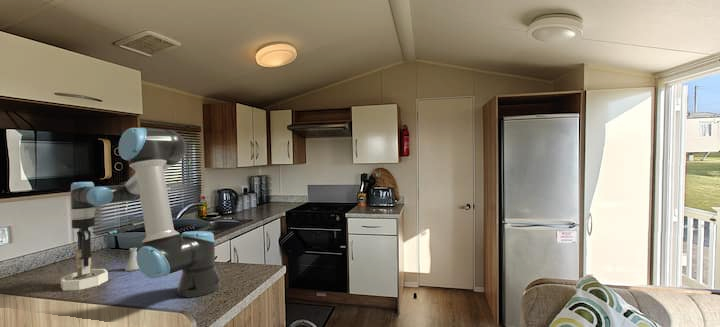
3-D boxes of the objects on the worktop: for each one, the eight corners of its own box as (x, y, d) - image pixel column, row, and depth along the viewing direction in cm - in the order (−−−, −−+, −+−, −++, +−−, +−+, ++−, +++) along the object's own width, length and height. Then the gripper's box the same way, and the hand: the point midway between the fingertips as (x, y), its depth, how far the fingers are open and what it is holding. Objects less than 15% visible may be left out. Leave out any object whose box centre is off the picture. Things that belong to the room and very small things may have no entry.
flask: (127, 272, 150) (127, 251, 150) (122, 269, 154) (121, 249, 154) (145, 268, 156) (144, 247, 156) (139, 265, 160) (139, 245, 160)
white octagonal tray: (110, 282, 138) (110, 273, 138) (64, 293, 127) (64, 283, 127) (102, 275, 147) (102, 266, 147) (59, 284, 136) (59, 275, 136)
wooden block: (92, 280, 138) (90, 248, 137) (78, 284, 134) (76, 251, 134) (91, 279, 139) (89, 247, 139) (77, 282, 136) (75, 250, 135)
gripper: (99, 218, 134) (100, 274, 134) (90, 214, 145) (92, 266, 145) (75, 221, 128) (76, 279, 128) (68, 217, 140) (69, 270, 140)
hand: (84, 272), depth 137 cm, fingers open, 4 cm apart
